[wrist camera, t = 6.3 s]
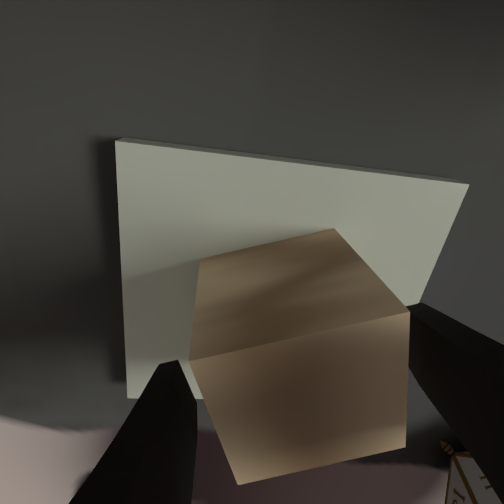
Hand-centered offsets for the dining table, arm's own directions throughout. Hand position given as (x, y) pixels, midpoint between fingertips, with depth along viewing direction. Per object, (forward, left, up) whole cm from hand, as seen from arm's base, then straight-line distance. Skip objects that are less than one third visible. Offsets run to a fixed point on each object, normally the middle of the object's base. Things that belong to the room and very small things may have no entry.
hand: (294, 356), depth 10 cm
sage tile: (0, 0, -4) cm, 4 cm away
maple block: (0, 0, -3) cm, 3 cm away
